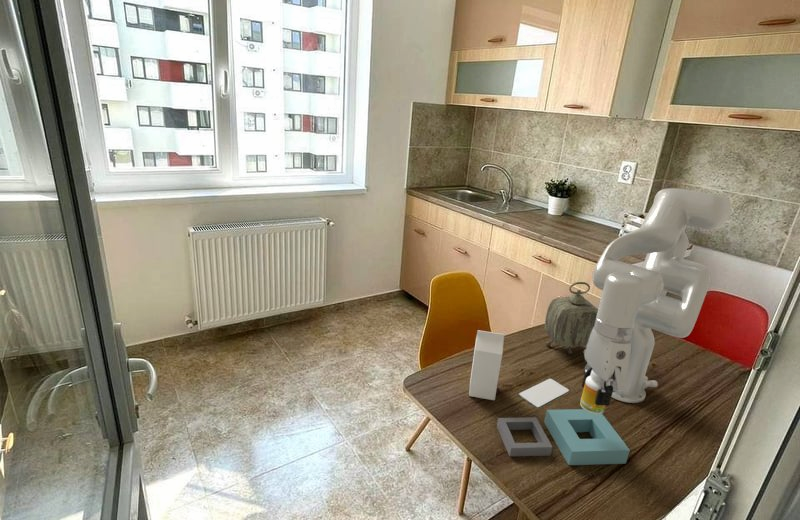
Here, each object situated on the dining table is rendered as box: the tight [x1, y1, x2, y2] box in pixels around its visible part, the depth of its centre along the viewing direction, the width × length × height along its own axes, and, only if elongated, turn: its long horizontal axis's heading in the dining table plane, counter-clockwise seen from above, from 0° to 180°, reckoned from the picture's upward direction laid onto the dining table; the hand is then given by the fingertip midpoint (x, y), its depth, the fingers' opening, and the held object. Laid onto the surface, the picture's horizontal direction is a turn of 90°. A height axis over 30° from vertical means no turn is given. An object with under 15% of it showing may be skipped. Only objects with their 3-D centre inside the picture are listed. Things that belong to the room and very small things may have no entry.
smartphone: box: [517, 378, 570, 409], centre depth 125 cm, size 7×1×15 cm
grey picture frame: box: [496, 416, 553, 457], centre depth 106 cm, size 10×10×2 cm
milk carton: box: [468, 329, 505, 401], centre depth 120 cm, size 7×7×19 cm
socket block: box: [543, 408, 631, 466], centre depth 106 cm, size 14×14×4 cm
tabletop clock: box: [544, 281, 598, 355], centre depth 142 cm, size 14×9×25 cm, turn 98°
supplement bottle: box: [579, 369, 610, 414], centre depth 102 cm, size 5×5×10 cm
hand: (594, 395), depth 102 cm, fingers closed on supplement bottle, 5 cm apart
